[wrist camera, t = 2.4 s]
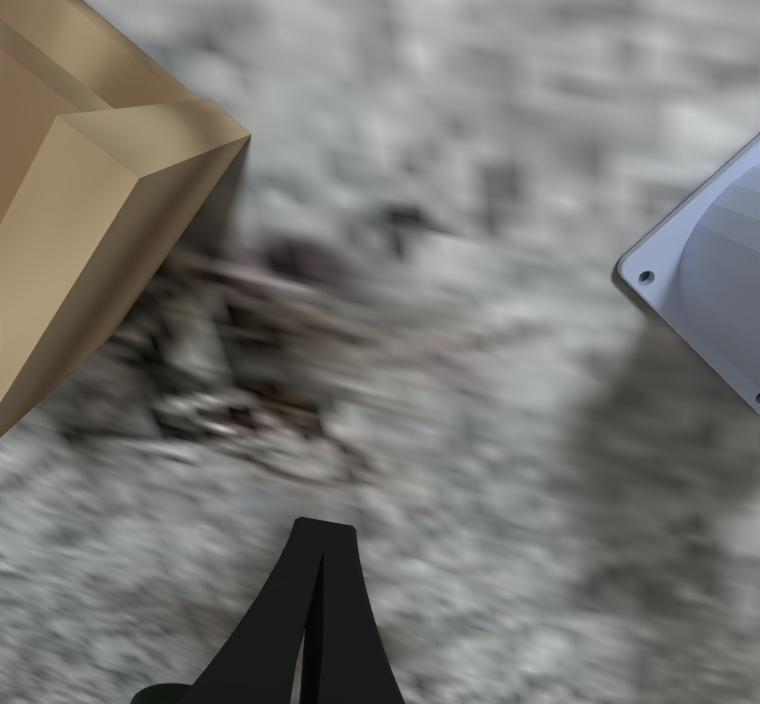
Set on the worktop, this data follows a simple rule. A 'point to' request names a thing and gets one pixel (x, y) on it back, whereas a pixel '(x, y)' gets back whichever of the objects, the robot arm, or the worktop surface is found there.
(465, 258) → the worktop surface
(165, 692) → the wine bottle
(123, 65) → the tan notched block
